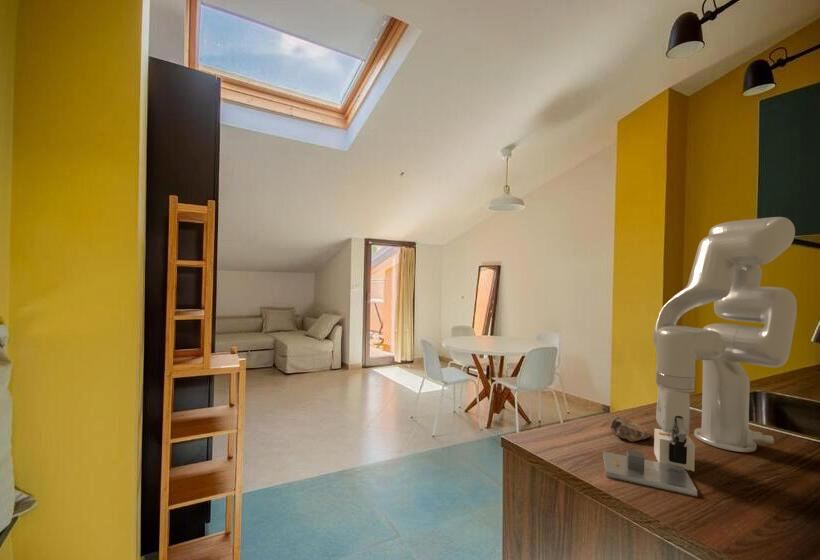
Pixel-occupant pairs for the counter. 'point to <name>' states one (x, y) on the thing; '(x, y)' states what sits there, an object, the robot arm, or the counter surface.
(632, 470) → the plate
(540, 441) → the counter surface
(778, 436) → the counter surface
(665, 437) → the orange-striped white cube
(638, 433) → the rock
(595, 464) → the counter surface
